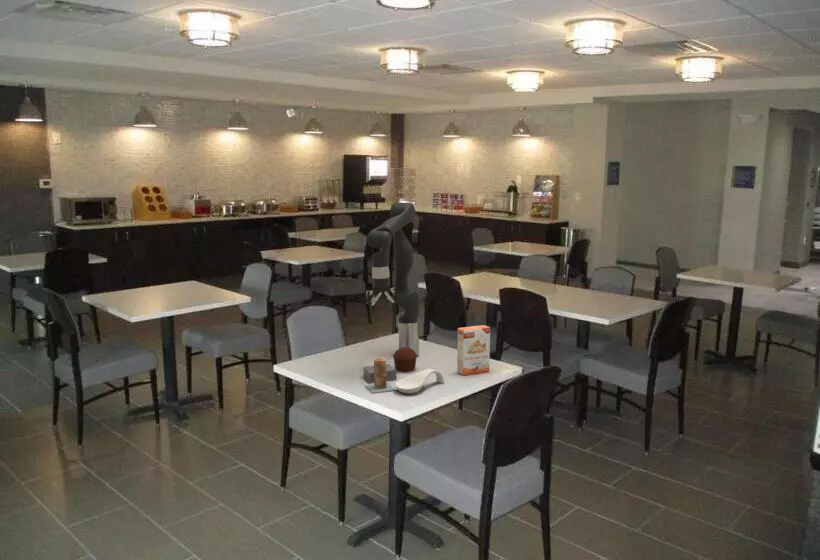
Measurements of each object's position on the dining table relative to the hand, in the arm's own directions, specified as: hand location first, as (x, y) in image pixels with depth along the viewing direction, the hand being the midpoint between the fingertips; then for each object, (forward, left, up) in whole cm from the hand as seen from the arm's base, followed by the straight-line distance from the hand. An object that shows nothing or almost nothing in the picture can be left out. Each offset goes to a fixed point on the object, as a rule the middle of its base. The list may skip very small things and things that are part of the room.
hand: (382, 312), depth 290 cm
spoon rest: (-8, +24, -29) cm, 39 cm away
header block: (+4, +5, -29) cm, 29 cm away
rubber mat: (+8, +18, -29) cm, 35 cm away
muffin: (-11, -3, -29) cm, 31 cm away
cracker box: (-38, +13, -29) cm, 50 cm away
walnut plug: (+7, +18, -28) cm, 34 cm away
